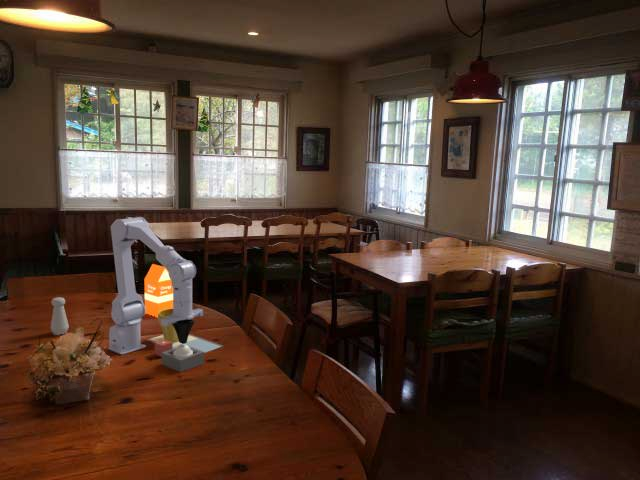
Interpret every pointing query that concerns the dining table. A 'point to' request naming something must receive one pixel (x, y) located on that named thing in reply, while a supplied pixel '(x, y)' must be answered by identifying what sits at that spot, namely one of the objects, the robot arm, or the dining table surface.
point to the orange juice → (158, 290)
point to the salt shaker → (59, 317)
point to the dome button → (183, 351)
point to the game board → (192, 343)
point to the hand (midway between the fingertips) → (182, 342)
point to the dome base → (182, 360)
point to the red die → (162, 347)
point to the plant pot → (168, 330)
